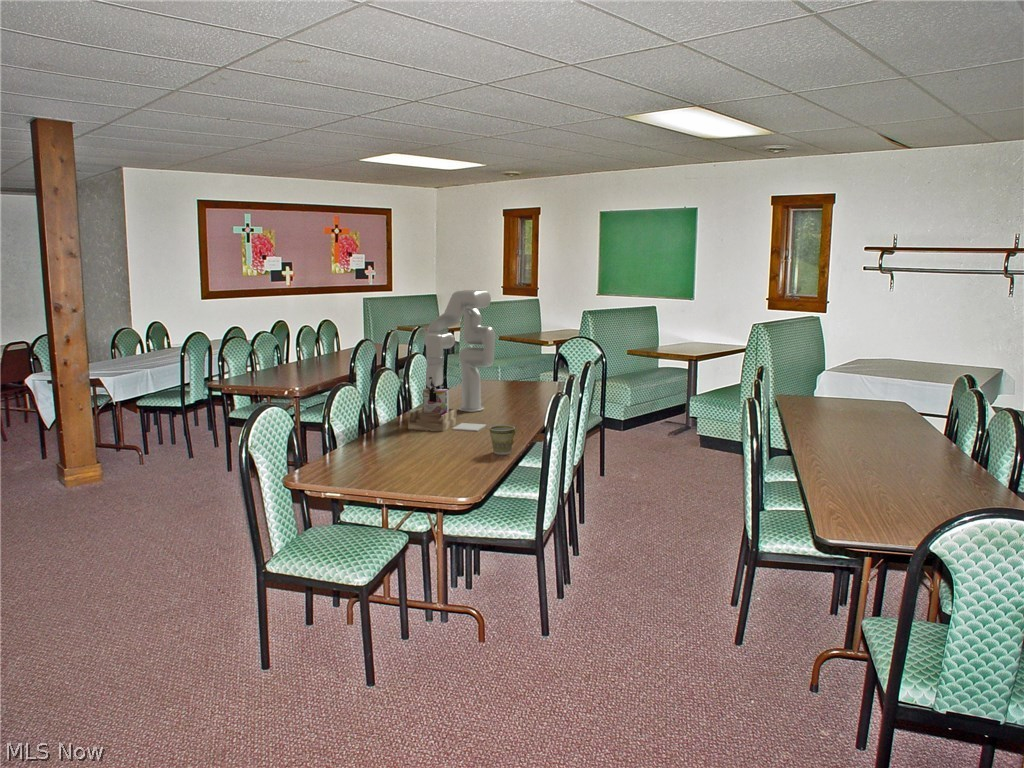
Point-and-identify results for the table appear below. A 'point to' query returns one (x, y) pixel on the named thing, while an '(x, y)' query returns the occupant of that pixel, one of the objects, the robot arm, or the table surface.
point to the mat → (469, 427)
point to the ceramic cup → (503, 438)
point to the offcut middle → (429, 421)
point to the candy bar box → (441, 401)
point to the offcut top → (429, 416)
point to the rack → (446, 422)
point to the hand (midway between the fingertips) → (435, 400)
